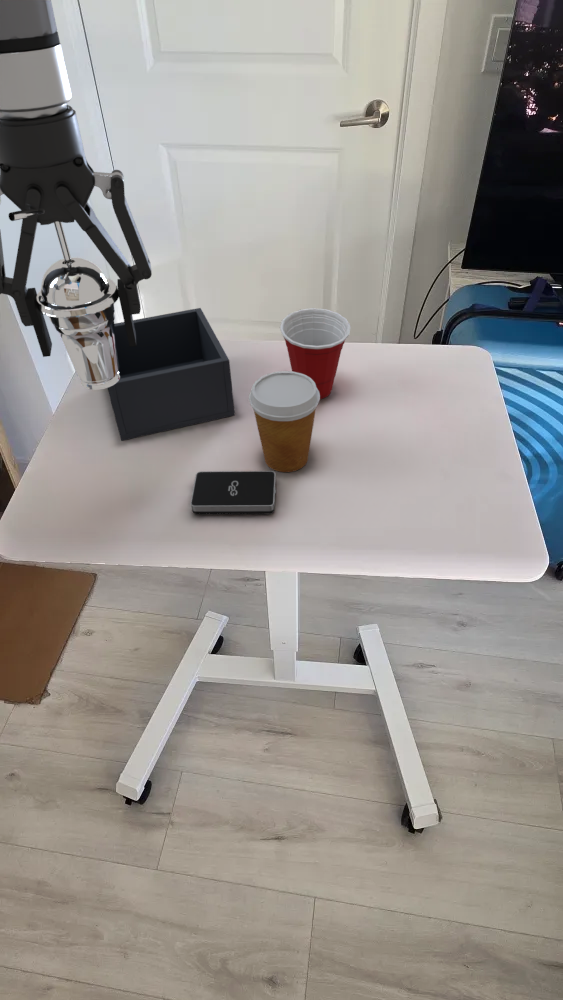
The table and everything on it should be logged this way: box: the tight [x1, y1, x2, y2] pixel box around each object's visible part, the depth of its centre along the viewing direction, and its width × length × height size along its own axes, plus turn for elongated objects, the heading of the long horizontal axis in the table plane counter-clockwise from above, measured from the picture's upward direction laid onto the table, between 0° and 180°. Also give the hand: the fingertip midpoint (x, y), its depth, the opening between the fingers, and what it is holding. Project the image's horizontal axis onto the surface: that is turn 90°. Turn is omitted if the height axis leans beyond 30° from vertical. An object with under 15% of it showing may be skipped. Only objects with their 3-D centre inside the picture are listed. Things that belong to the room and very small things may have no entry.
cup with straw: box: [8, 207, 121, 391], centre depth 65 cm, size 8×9×20 cm
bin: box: [106, 307, 236, 442], centre depth 100 cm, size 18×18×10 cm
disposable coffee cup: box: [248, 370, 321, 473], centre depth 87 cm, size 10×10×12 cm
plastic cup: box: [279, 307, 352, 400], centre depth 99 cm, size 11×11×12 cm
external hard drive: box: [190, 470, 277, 515], centre depth 84 cm, size 7×11×2 cm, turn 89°
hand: (90, 345), depth 69 cm, fingers closed on cup with straw, 8 cm apart
